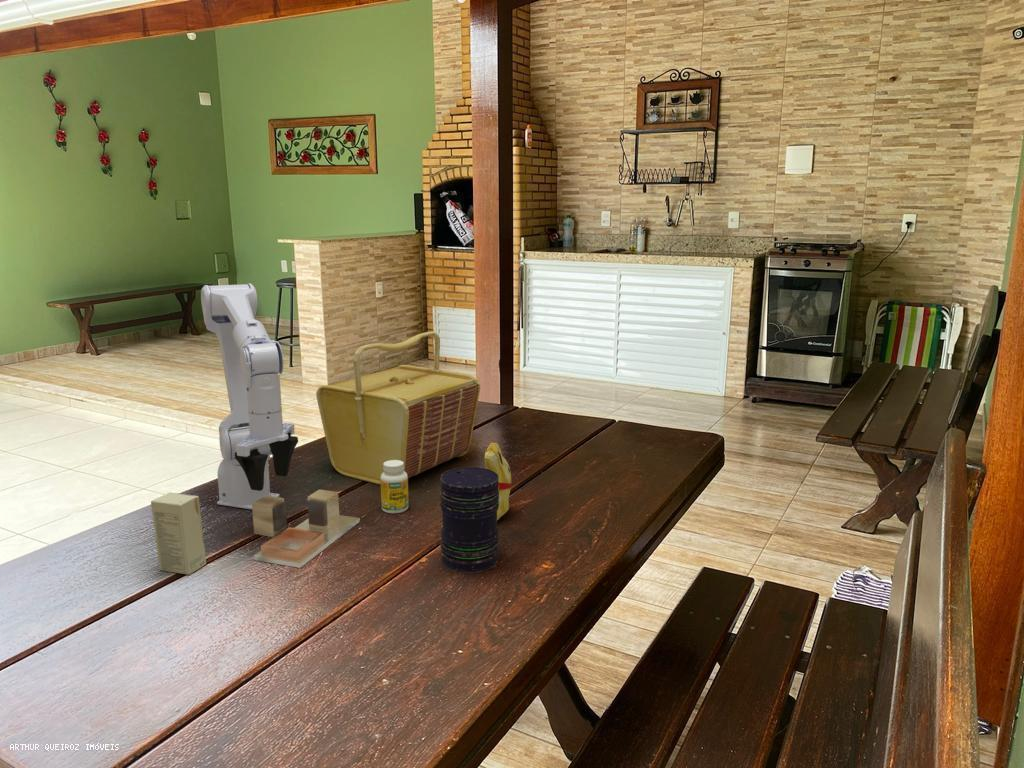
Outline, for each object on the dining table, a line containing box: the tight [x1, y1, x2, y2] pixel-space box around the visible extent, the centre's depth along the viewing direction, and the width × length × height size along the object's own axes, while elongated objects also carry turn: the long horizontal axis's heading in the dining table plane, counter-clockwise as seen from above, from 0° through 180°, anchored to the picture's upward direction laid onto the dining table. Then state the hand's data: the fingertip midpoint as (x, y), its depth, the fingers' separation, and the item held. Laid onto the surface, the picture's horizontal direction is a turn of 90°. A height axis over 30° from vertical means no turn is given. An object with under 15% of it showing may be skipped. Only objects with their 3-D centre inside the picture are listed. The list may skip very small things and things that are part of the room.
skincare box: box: [150, 492, 207, 575], centre depth 124 cm, size 6×4×12 cm
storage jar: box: [439, 466, 500, 574], centre depth 127 cm, size 10×10×15 cm
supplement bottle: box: [380, 460, 410, 514], centre depth 149 cm, size 5×5×10 cm
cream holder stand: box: [253, 489, 360, 569], centre depth 135 cm, size 9×20×7 cm, turn 162°
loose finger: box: [251, 495, 288, 538], centre depth 139 cm, size 4×5×6 cm
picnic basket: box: [315, 331, 481, 486], centre depth 172 cm, size 29×26×30 cm
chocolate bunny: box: [483, 442, 513, 521], centre depth 146 cm, size 7×11×15 cm, turn 155°
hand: (269, 482), depth 138 cm, fingers open, 7 cm apart
